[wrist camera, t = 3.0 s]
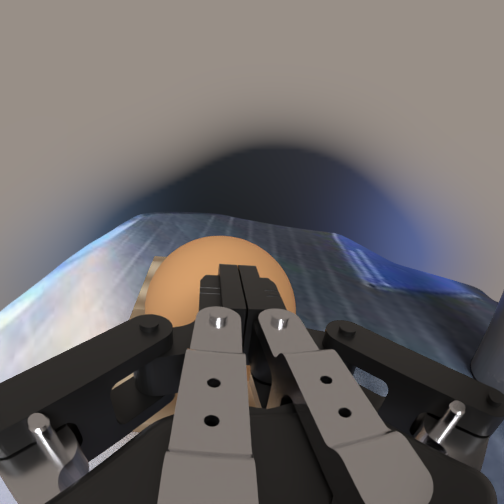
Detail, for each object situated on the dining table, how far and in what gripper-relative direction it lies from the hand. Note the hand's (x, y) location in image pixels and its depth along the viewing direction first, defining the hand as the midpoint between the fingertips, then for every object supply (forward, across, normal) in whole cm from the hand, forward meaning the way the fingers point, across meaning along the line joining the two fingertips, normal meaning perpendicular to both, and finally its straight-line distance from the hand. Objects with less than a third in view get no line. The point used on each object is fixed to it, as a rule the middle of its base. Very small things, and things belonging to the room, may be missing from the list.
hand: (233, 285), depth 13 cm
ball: (+10, 0, +7) cm, 12 cm away
